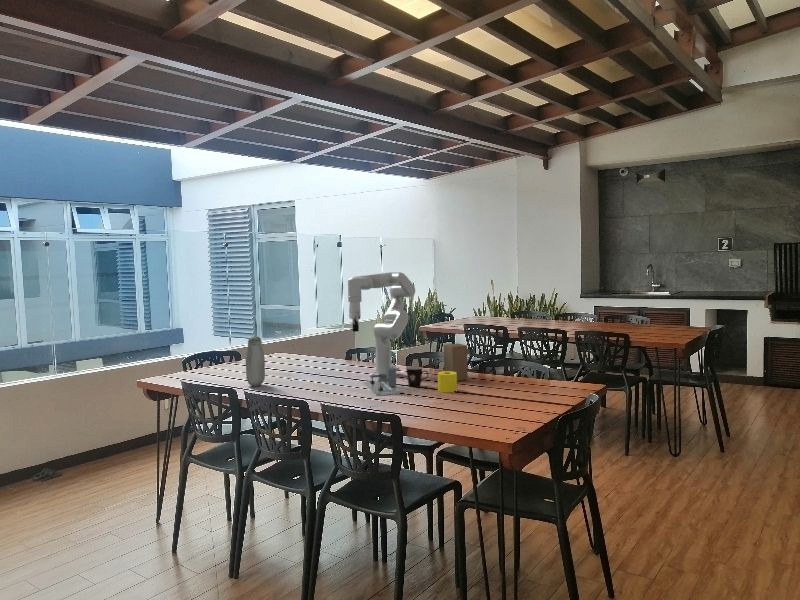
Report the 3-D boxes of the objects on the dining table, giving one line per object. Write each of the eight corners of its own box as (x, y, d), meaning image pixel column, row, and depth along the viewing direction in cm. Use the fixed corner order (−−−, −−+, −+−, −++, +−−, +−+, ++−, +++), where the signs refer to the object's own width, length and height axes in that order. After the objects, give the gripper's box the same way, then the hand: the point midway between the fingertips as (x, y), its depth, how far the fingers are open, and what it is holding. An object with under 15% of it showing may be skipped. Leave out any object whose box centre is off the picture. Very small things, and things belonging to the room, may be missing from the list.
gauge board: (384, 382, 345) (384, 372, 344) (399, 393, 316) (398, 382, 316) (363, 384, 342) (363, 373, 341) (376, 395, 313) (376, 384, 312)
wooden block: (467, 380, 348) (467, 345, 347) (452, 381, 344) (452, 346, 342) (458, 377, 357) (458, 343, 356) (444, 378, 353) (443, 344, 351)
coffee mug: (403, 386, 334) (403, 368, 334) (413, 383, 341) (413, 366, 340) (419, 389, 326) (419, 370, 326) (429, 386, 333) (429, 368, 332)
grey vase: (260, 387, 338) (259, 337, 336) (243, 387, 340) (241, 337, 338) (268, 384, 347) (266, 335, 346) (251, 383, 349) (249, 335, 348)
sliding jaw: (393, 385, 324) (393, 367, 323) (396, 386, 319) (395, 369, 319) (377, 386, 321) (376, 368, 321) (379, 388, 317) (379, 370, 316)
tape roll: (436, 389, 326) (436, 371, 325) (455, 388, 327) (454, 371, 326) (439, 393, 316) (439, 375, 315) (458, 392, 317) (458, 374, 316)
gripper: (345, 298, 352) (346, 330, 354) (351, 300, 338) (351, 333, 339) (358, 298, 355) (359, 329, 356) (364, 299, 340) (365, 332, 341)
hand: (355, 331), depth 348 cm, fingers closed
